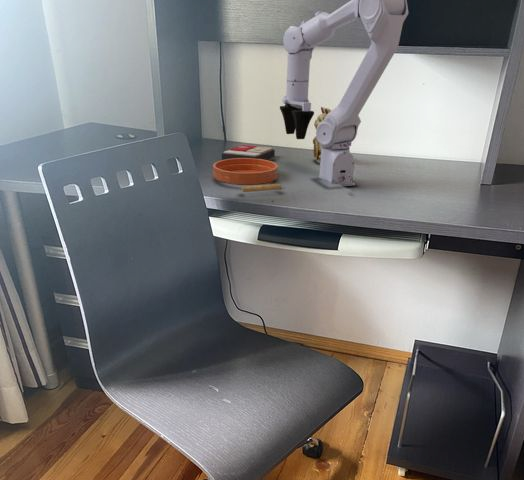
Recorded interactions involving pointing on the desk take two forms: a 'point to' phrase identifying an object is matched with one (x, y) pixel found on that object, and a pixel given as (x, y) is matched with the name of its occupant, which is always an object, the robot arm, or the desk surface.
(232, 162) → the bowl
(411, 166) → the desk surface
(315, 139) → the decorative figurine
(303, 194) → the desk surface
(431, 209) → the desk surface
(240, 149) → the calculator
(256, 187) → the cylinder
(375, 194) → the desk surface
